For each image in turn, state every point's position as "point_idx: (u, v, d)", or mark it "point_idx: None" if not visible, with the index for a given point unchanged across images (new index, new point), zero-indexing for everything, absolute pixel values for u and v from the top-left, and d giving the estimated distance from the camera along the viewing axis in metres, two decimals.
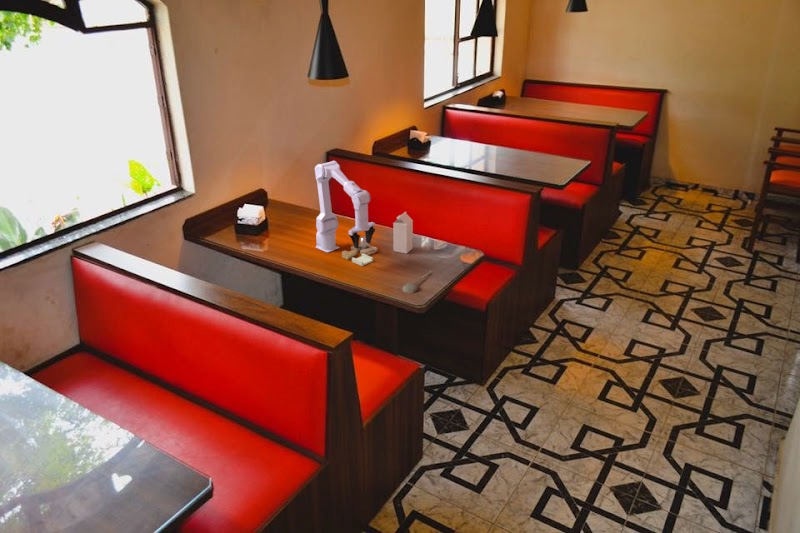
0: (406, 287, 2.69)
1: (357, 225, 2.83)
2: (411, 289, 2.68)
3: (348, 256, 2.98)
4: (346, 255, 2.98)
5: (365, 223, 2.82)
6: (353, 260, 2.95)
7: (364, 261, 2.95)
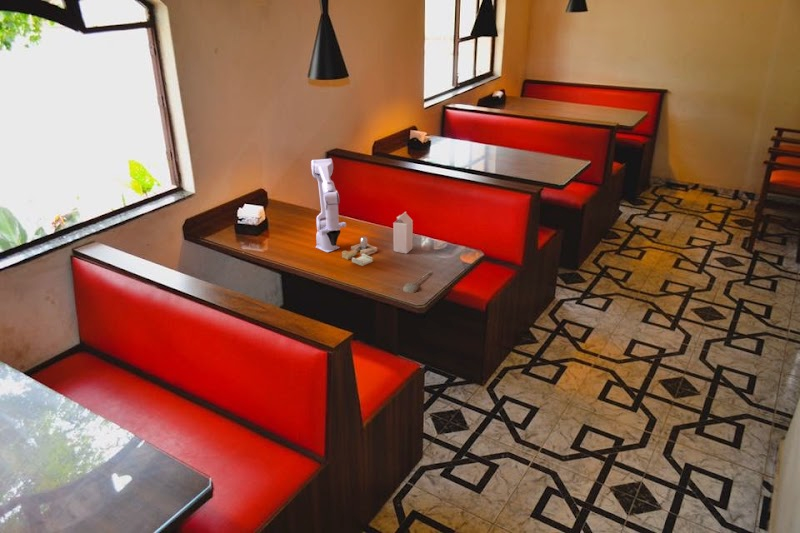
0: (407, 287, 2.69)
1: (328, 225, 2.85)
2: (412, 289, 2.68)
3: (348, 256, 2.98)
4: (346, 255, 2.98)
5: (335, 223, 2.84)
6: (353, 260, 2.95)
7: (364, 261, 2.95)
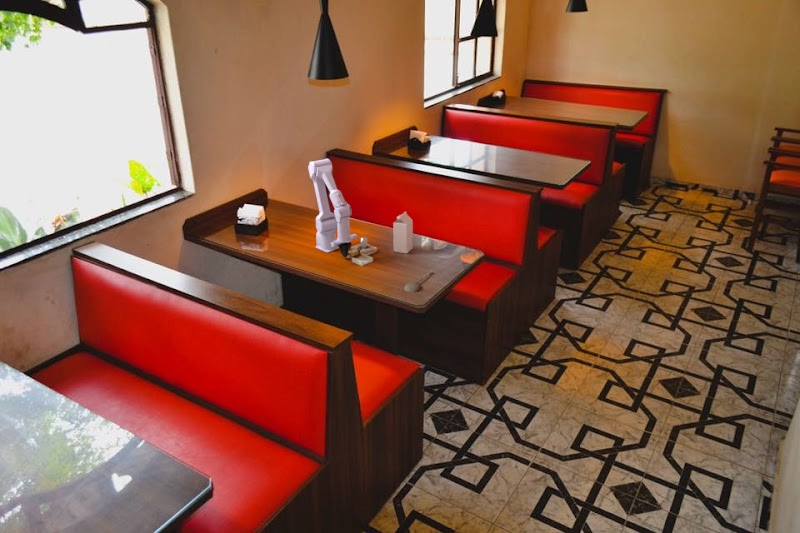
0: (408, 286, 2.70)
1: (339, 237, 2.92)
2: (413, 289, 2.69)
3: (350, 256, 2.99)
4: (348, 254, 2.99)
5: (347, 235, 2.92)
6: (353, 260, 2.95)
7: (364, 261, 2.95)
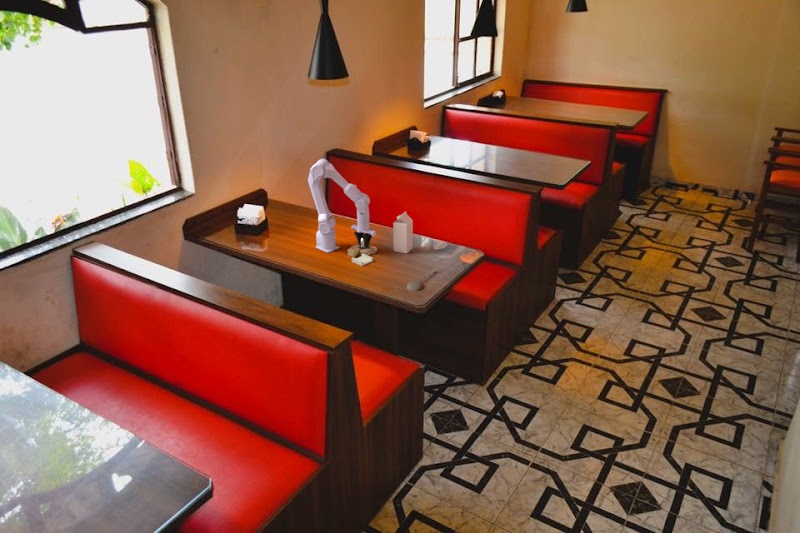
0: (410, 285, 2.71)
1: None
2: (415, 287, 2.70)
3: (354, 254, 3.00)
4: (352, 253, 3.00)
5: (358, 225, 3.00)
6: (353, 260, 2.95)
7: (364, 261, 2.95)
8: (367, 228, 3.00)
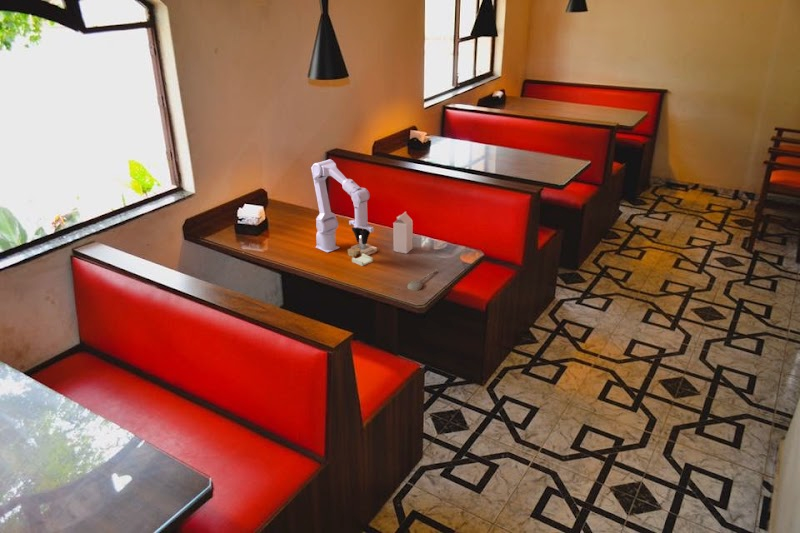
0: (411, 285, 2.71)
1: None
2: (416, 287, 2.70)
3: (354, 254, 3.00)
4: (352, 253, 3.00)
5: (356, 220, 2.86)
6: (353, 260, 2.95)
7: (364, 261, 2.95)
8: (365, 224, 2.86)
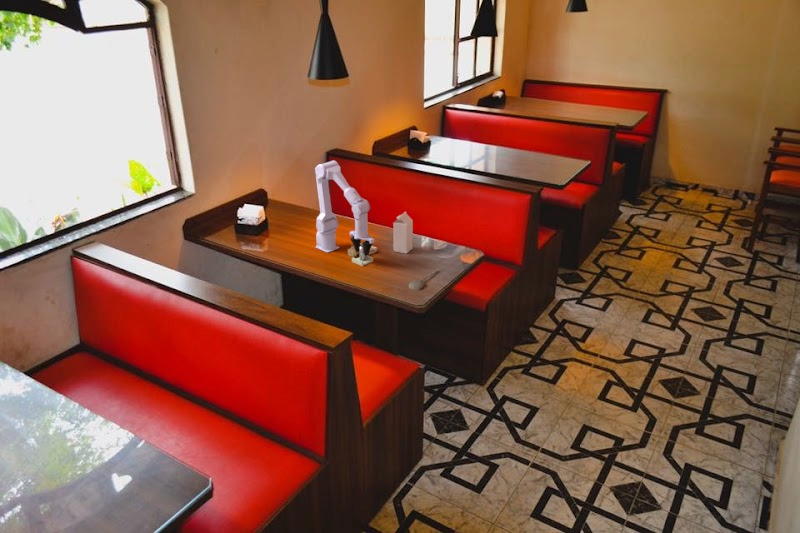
0: (412, 284, 2.72)
1: None
2: (417, 286, 2.70)
3: (354, 254, 3.00)
4: (352, 253, 3.00)
5: (356, 231, 2.88)
6: (353, 260, 2.95)
7: (364, 261, 2.95)
8: (365, 235, 2.88)
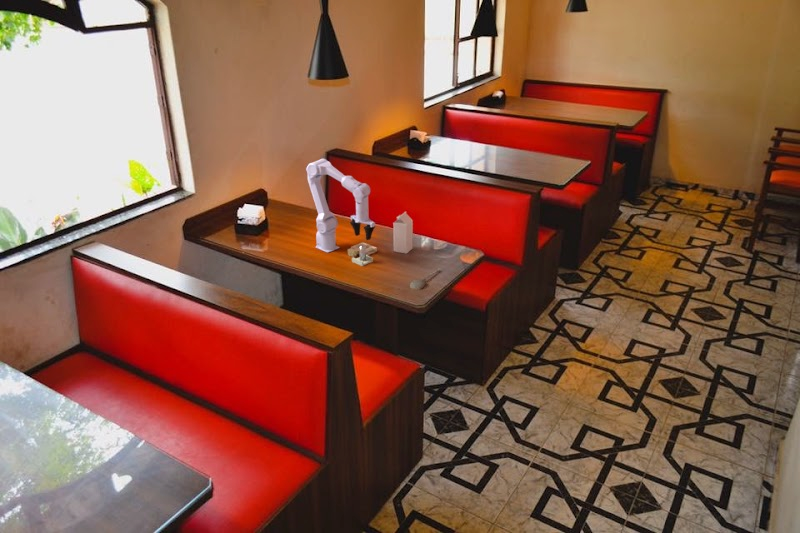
0: (413, 283, 2.72)
1: None
2: (418, 286, 2.71)
3: (354, 254, 3.00)
4: (352, 253, 3.00)
5: (357, 215, 2.90)
6: (353, 260, 2.95)
7: (364, 261, 2.95)
8: (366, 219, 2.91)
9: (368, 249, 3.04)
